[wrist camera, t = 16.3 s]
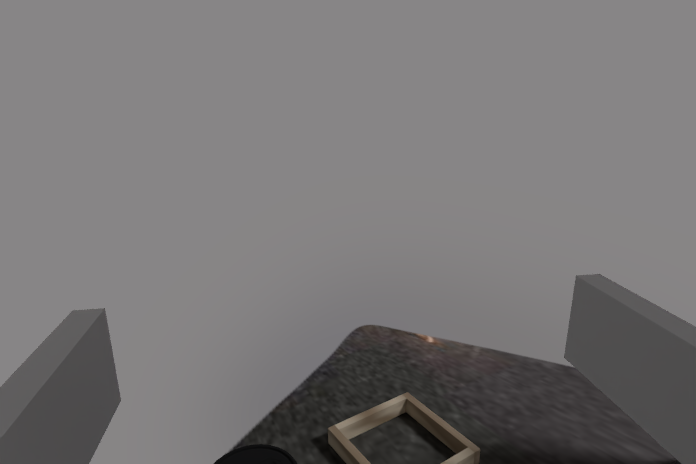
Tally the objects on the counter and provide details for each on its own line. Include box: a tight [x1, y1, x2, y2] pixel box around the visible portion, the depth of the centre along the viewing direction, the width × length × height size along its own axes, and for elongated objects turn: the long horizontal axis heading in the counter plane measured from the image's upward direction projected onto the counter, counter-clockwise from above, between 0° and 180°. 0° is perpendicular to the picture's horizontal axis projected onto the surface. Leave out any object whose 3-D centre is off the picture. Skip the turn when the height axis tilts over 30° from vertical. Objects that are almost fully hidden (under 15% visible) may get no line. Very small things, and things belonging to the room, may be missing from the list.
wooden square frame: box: [328, 392, 480, 464], centre depth 45 cm, size 11×11×2 cm
